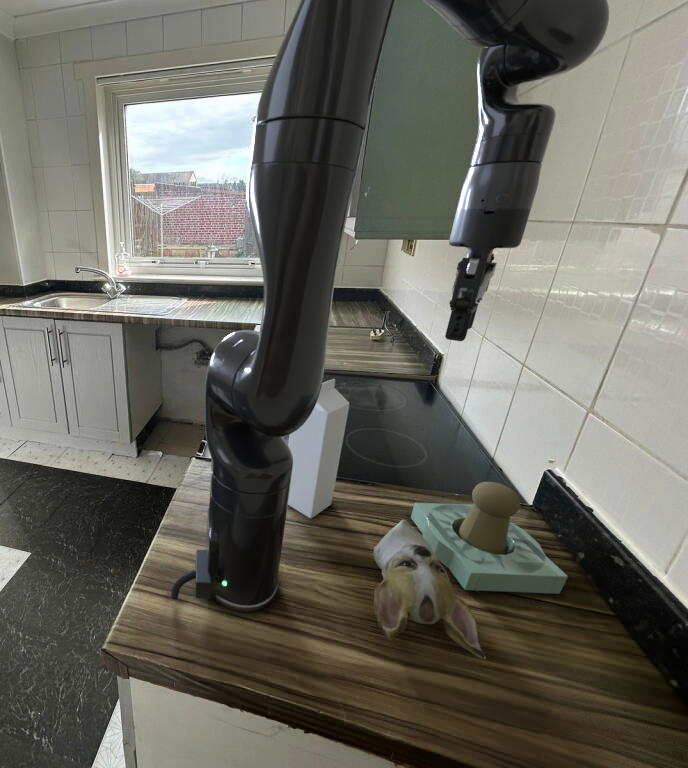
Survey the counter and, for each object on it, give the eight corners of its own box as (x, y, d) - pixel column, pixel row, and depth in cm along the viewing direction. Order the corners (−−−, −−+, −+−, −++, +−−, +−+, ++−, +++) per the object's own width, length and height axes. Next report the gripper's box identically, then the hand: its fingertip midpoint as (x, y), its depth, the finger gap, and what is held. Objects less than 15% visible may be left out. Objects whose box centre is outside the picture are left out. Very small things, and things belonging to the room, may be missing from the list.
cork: (485, 538, 61) (508, 476, 57) (512, 569, 55) (540, 504, 51) (443, 535, 61) (463, 474, 57) (466, 565, 56) (489, 500, 52)
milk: (331, 504, 68) (354, 384, 60) (310, 519, 65) (332, 393, 56) (301, 487, 72) (319, 372, 64) (279, 500, 69) (296, 380, 61)
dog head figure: (451, 515, 52) (511, 623, 39) (434, 563, 56) (484, 677, 43) (363, 504, 54) (392, 602, 41) (352, 551, 58) (376, 655, 45)
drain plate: (458, 590, 52) (464, 572, 51) (405, 517, 65) (409, 502, 64) (566, 594, 52) (575, 576, 51) (491, 520, 65) (497, 505, 64)
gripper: (463, 209, 57) (435, 321, 63) (449, 205, 47) (418, 339, 53) (531, 208, 53) (494, 329, 59) (532, 203, 43) (487, 349, 49)
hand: (458, 333), depth 56 cm, fingers open, 8 cm apart
